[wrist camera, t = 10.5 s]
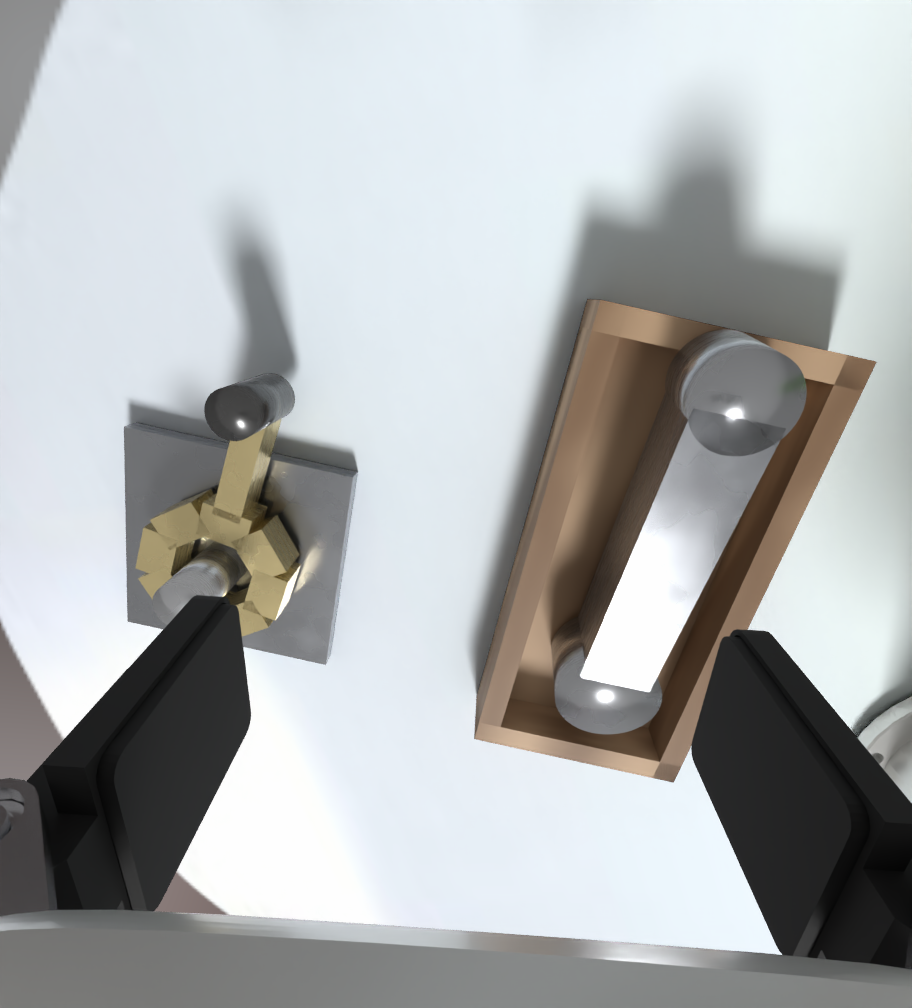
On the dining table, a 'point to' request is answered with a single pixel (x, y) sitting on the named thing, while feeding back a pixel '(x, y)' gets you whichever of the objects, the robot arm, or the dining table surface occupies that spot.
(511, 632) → the tray
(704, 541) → the silver dumbbell
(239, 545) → the ring nut
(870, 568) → the dining table surface
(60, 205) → the dining table surface
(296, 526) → the nut base
